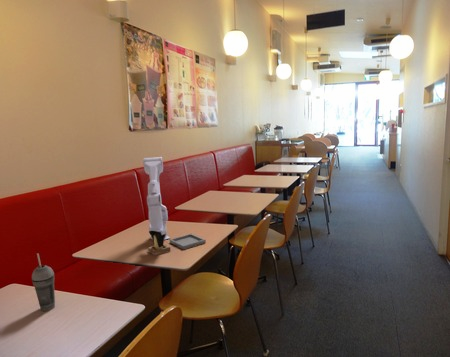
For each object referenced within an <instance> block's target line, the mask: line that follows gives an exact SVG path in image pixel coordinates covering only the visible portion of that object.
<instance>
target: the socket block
mask: <svg viewBox="0 0 450 357" xmlns="http://www.w3.org/2000/svg"><path fill="white" fill-rule="evenodd" d="M147 251H148V252H149V253H151V254H152V255H154V256H159V255H162V254H165V253H169V252H171V247H170V246H169V245H167V244H165V243H164V244H163V248H162V249H159V250H155V245H152V246H148V247H147Z"/></svg>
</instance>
